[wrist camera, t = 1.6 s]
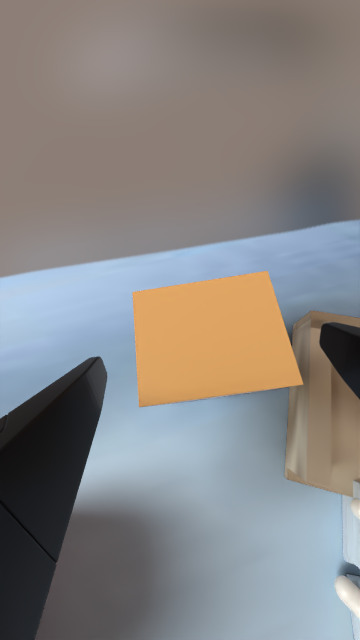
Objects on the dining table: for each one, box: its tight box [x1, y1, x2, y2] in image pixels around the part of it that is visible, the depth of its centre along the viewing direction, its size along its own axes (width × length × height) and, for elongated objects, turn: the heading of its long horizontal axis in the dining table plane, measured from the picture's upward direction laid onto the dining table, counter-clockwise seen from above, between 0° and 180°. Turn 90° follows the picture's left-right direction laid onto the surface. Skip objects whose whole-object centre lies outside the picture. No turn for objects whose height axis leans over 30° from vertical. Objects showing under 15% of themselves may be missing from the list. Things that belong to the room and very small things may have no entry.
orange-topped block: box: [133, 271, 303, 407], centre depth 12 cm, size 4×5×10 cm
